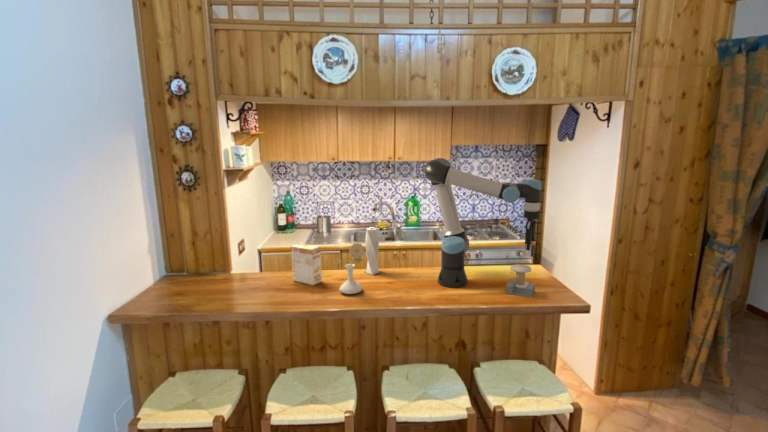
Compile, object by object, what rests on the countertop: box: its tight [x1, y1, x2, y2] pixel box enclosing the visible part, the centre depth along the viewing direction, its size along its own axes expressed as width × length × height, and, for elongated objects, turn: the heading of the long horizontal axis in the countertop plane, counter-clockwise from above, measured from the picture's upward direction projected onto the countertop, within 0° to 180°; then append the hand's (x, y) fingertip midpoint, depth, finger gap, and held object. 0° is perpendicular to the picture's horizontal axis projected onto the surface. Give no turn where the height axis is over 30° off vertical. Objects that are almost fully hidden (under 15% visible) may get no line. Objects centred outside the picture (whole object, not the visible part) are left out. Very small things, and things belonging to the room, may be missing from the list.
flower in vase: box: [338, 242, 366, 295], centre depth 202 cm, size 13×11×25 cm
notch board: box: [505, 280, 536, 299], centre depth 199 cm, size 12×8×4 cm, turn 61°
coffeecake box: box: [290, 242, 323, 286], centre depth 218 cm, size 15×7×20 cm, turn 58°
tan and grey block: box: [524, 241, 536, 258], centre depth 212 cm, size 4×4×7 cm
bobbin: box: [509, 264, 532, 290], centre depth 208 cm, size 10×10×10 cm
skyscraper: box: [363, 224, 382, 276], centre depth 229 cm, size 8×8×28 cm
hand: (528, 254), depth 212 cm, fingers closed on tan and grey block, 4 cm apart
